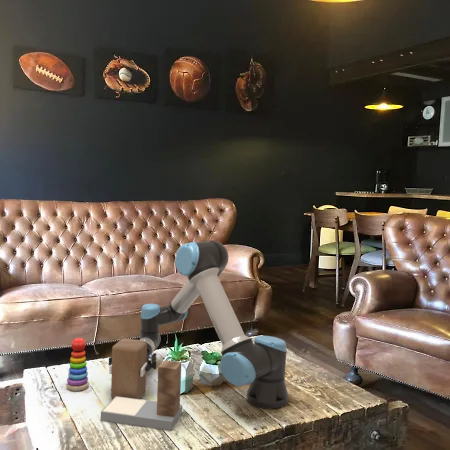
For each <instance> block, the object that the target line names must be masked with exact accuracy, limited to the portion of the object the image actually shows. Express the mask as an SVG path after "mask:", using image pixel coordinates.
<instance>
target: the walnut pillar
mask: <svg viewBox="0 0 450 450" xmlns="http://www.w3.org/2000/svg"><path fill="white" fill-rule="evenodd" d="M181 383H182V362H180V361H172V360H163V361H162V362H161V363H160V364H159V365H158V366H157V388H156V389H157V391H156V392H157V393H156V394H157V395H156V397H157V398H156V402H157V415H161V416H169V417H175V416H176V414H177V413H178V411H179V409H180V405H181V387H182V386H181V385H182V384H181Z"/></svg>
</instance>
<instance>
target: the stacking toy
mask: <svg viewBox="0 0 450 450" xmlns="http://www.w3.org/2000/svg"><path fill="white" fill-rule="evenodd" d="M86 345H87V343H86V341H85V339H84V338H82V337H75V338H74V339H73V340H72V342H71V345H70V346H71V349H72V351H71V353H70V354H71V356H70V359H69V361H70V363H69V368H68V374H67V379H66V382H67V383H66V389H67V390H68V391H72V392H79V391H80V392H81V391H84V390H86V389H88V387H89V384H90V383H89V381H88V380H89V378H88V374H89V373H88V366H87V361H86V359H87V358H86V351H85V348H86Z"/></svg>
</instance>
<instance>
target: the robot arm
mask: <svg viewBox="0 0 450 450" xmlns="http://www.w3.org/2000/svg"><path fill="white" fill-rule="evenodd" d="M229 257H230V256H229V252H228V249H227V247H225V245H224V244H223V243H221V242H220V241H217V240H208V241H207V240H206V241H191V242H188V243H187V242H186V243H184V244H182V245H180V246H179V247H178V249H177V251H176V255H175V261H174V263H175V268H176V270H177V272H178V273H179V274H180V275H182V276H184V277H187V279H188V280H187V281H186V282H185V284H184V285H183V286H182V287H181V289H180V290H179V292H177V294H176V295H175V296H174V298H173V299H172V301H171V302H170V303H169V304H168V305H164V306H161V307H160V305H159V304H156V303H145V304H143V305H142V306H141V311H140V334H139V335H140V339H139V340H143V341H147V362H145V364H144V365H143V367H142V368H141V374H140V377H143V375H144V374H145V372H146V373H147V372H150V370H151V369H152V370H156V369H157V353H155V351H156V349H157V348H158V347H159V345H160V344H161V334H160V333H159V332H160V326H164V325H169V324H172V323H178V322H181V321H183V320H186V318H187V317H188V313H189V310H188V309H189V308H190V307H191V306H192V305H193V304H194V302H195V301H196V300H197V298H199V296H200V298H201V300H202V302H203V305H204V307H205V310H207V313H208V316H209V317H210V320H211V323H212V325H213V327H214V329H215V332H216V334H217V337H218V338H219V340H220V343H221V345H222V348H221V351H220V353H221V356H222V357H221V359H220V370H221V374H222V376H223V377H224V378H225V380H226V381H227V382H228V383H229V384H231V385H233V386H236V387H242V386H245V385H248V389H247V392H246V400H247V402H248V403H249V404H251V405H253V406H255V407H258V408H261V409H267V410H269V409H268V408H276V409H279V408H278V407H281V408H283V407H282V406H284V405H285V406H287V405H288V403H289V393H288V388H287V385H286V380H285V378H286V363H287V361H286V360H287V352H288V351H287V343H286V342H285V340H284V339H281V338H278V337H275V336H270V335H258V336H256V337H254V340H253V339H252V337H250V336H248V335H246V334H245V332H244V331H243V328H242V326H241V324H240V322H239V319H238V316H237V315H236V313H235V311H234V308H233V306H232V304H231V302H230V300H229V298H228V296H227V294H226V291H225V289H224V287H223V285H222V283H221V280H220V278H219V277H220V275H221V274H222V273H223V272H224V270H225V268H226V267H227V265H228V262H229ZM108 366H109V369H108V370H109V372H108V374H110V375H112V356H110V357H108ZM286 404H287V405H286ZM285 406H284V407H285Z"/></svg>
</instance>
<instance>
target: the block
mask: <svg viewBox="0 0 450 450" xmlns="http://www.w3.org/2000/svg"><path fill="white" fill-rule="evenodd" d="M111 357H112V374H111V380H110V381H111V388H110V391H111V393H110V399H111V401H112V400H113V399H114V397H115V396H118V397H126V398H133V399H141V398H142V397H143V396H144V395H145V394H146V391H147V390H146V389H147V371H146V372H145V374H144V375H143V377H140V374H141V368H142V367H143V365H144V364H145V362H147V341H143V340H140V339H132V338H131V339H130V338H125V337H124V338H122V339H120V340H119V341H118V342H116V343H115V344H114V345H112V348H111Z"/></svg>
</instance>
